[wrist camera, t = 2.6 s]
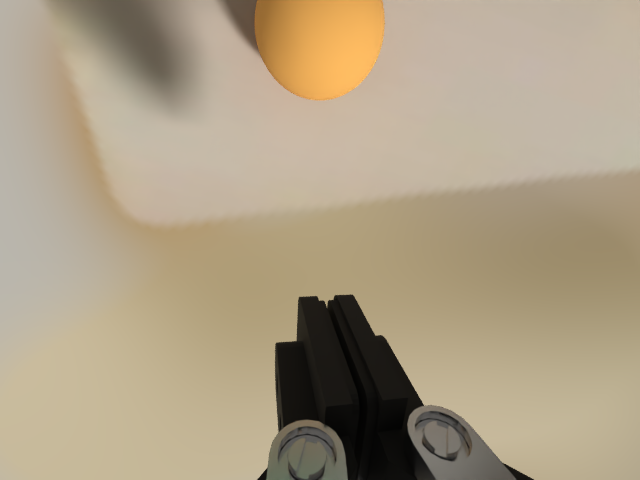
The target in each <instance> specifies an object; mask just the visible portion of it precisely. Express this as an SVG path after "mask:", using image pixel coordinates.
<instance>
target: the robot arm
mask: <svg viewBox="0 0 640 480" xmlns="http://www.w3.org/2000/svg"><path fill="white" fill-rule="evenodd" d="M275 349H276V350H275V378H276V379H275V381H276V401H277V414H278V430H279V433H278V434H277V436H276V437H275V439H274V440H273V442H272V445H271V449H270V453H269V461H268V468H267V469H266V470H265V471H264V472H263V474H262V475H261V476H260V477H259V478H258V480H534V479H532V478H530V477H528V476H526V475H524V474H522V473H520V472H519V471H517V470H515V469H513V468H511V467H509V466H508V465H506V464H504V463H502V462H501V461H500V460H499V458H498V457H497V456H496V455H495V454H494V453H493V452H492V450H491V449H490V448H489V447H488V446H487V445H486V443H485V442H484V441H483V440H482V439H481V437H480V436H479V435H478V434H477V433H476V432H475V430H474V429H473V428H472V427H471V426H470V425H469V424H468V423H467V422H466V421H465V420H464V419H463V418H462V417H460V416H459V415H457V414H456V413H454V412H452V411H451V410H448V409H446V408H443V407H439V406H433V405H428V406H424V405H423V403H422V401H421V399H420V398H419V396H418V394H417V392H416V391H415V389H414V387H413V386H412V384H411V382H410V380H409V379H408V377H407V375H406V374H405V372H404V370H403V368H402V367H401V365H400V363H399V361H398V360H397V358H396V356H395V354H394V353H393V351H392V349H391V347H390V346H389V344H388V343H387V340H386V339H385V338H384V337H383V336H381V335H379V336H375V334H374V333H373V331H372V329H371V327H370V325H369V323H368V322H367V320H366V318H365V316H364V314H363V312H362V310H361V308H360V306H359V305H358V303H357V301H356V299H355V297H354V296H353V295H335V296H334V300H329V301H328V306H327V307H326V304H325V302H324V301H319V300H318V297H317V296H310V297H299V300H298V323H297V341H294V342H279V343H276V346H275Z"/></svg>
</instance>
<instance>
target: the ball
mask: <svg viewBox="0 0 640 480" xmlns="http://www.w3.org/2000/svg"><path fill="white" fill-rule="evenodd" d="M254 24H255V36H256V41H257V45H258V49H259V52H260V55H261V57H262V59H263V62H264V63H265V65H266V67H267V69H268V70H269V72H270V73H271V75H272V76H273V77H274V78H275V79H276V81H277V82H278V83H279V84H280V85H282V86H283V87H284V88H285V89H287V90H288V91H290V92H291V93H293V94H295V95H297V96H300V97H303V98H306V99H311V100H329V99H334V98H337V97H340V96H342V95H344V94H346V93H348V92H349V91H351V90H353V89H354V88H355V87H356V86H358V85H359V84H360V83H361V82H362V81H363V80H364V79H365V78H366V76H367V75H368V74H369V72H370V71H371V69H372V67H373V66H374V64H375V62H376V60H377V58H378V55H379V53H380V49H381V46H382V42H383V36H384V24H385V20H384V8H383V2H382V0H257V3H256V9H255V23H254Z"/></svg>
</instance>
